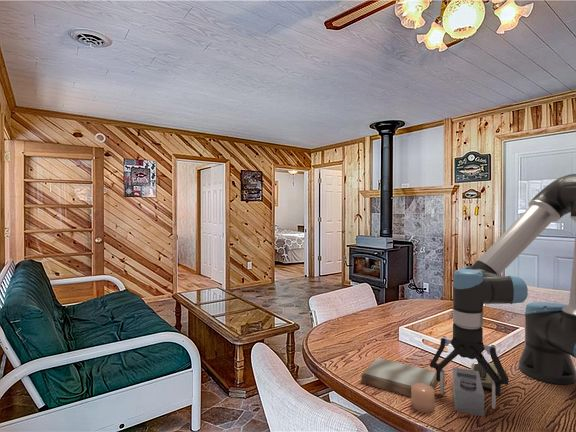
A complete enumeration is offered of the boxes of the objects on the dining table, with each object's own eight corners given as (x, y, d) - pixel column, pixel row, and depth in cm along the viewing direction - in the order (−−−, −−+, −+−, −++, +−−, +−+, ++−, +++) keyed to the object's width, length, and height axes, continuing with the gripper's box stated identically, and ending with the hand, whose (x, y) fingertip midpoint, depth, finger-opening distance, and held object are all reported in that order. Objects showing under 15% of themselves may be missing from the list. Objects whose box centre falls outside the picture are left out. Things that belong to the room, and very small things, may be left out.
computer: (471, 367, 119) (471, 357, 119) (499, 373, 115) (499, 363, 115) (467, 387, 106) (467, 377, 106) (497, 395, 102) (497, 384, 102)
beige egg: (436, 404, 97) (436, 386, 97) (431, 415, 92) (432, 396, 92) (414, 398, 100) (414, 380, 100) (408, 408, 95) (408, 390, 95)
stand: (438, 380, 110) (438, 371, 109) (428, 401, 98) (428, 391, 98) (376, 365, 121) (376, 356, 120) (361, 382, 109) (361, 373, 109)
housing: (452, 386, 107) (452, 364, 106) (478, 390, 104) (478, 368, 104) (454, 411, 94) (454, 386, 93) (484, 417, 91) (484, 391, 91)
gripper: (519, 328, 94) (518, 405, 95) (424, 314, 108) (424, 381, 109) (519, 337, 88) (518, 420, 89) (419, 320, 102) (419, 392, 102)
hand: (467, 399), depth 99 cm, fingers open, 12 cm apart
